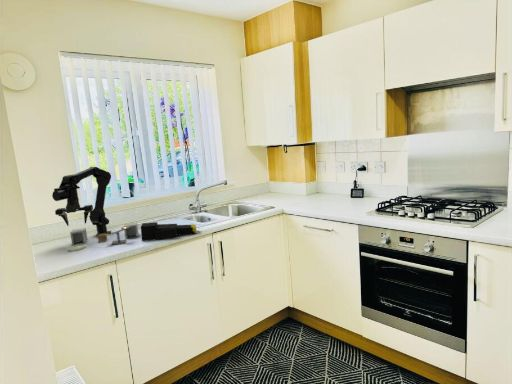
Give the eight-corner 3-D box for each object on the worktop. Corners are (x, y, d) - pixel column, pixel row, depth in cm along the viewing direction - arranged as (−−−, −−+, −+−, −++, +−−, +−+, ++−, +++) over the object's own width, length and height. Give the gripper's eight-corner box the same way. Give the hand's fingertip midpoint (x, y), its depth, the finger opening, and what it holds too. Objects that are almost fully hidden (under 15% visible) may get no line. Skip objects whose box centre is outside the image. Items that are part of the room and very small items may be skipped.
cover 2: (126, 235, 216) (124, 223, 215) (138, 234, 217) (137, 222, 216) (125, 238, 209) (123, 226, 208) (138, 237, 211) (136, 224, 210)
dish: (69, 247, 201) (69, 245, 201) (87, 245, 203) (87, 243, 203) (65, 252, 192) (65, 250, 192) (83, 249, 194) (83, 247, 194)
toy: (196, 225, 202) (139, 227, 196) (196, 240, 203) (140, 243, 198) (195, 219, 217) (143, 221, 212) (195, 233, 218) (143, 235, 213)
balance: (107, 243, 202) (105, 229, 201) (131, 240, 205) (129, 225, 204) (106, 246, 198) (103, 231, 196) (131, 242, 201) (129, 227, 199)
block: (99, 240, 210) (98, 234, 210) (107, 239, 211) (106, 233, 211) (98, 242, 206) (97, 235, 206) (106, 241, 207) (105, 234, 207)
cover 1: (75, 242, 212) (72, 229, 211) (87, 240, 214) (85, 228, 212) (72, 245, 206) (70, 232, 205) (85, 243, 207) (83, 230, 206)
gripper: (50, 201, 196) (54, 230, 198) (87, 197, 200) (91, 225, 202) (56, 198, 206) (60, 225, 209) (91, 195, 211) (95, 221, 213)
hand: (76, 224), depth 208 cm, fingers open, 9 cm apart
